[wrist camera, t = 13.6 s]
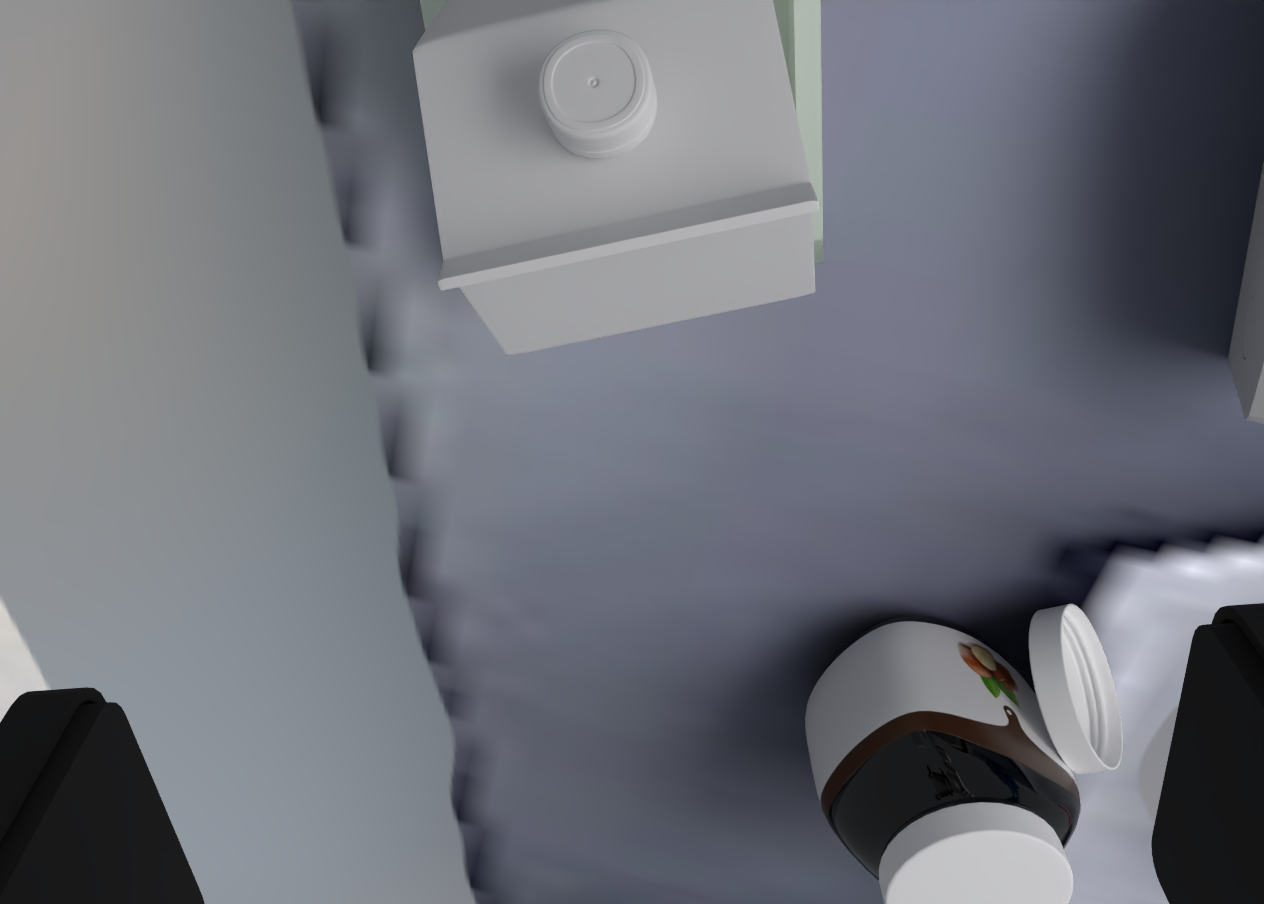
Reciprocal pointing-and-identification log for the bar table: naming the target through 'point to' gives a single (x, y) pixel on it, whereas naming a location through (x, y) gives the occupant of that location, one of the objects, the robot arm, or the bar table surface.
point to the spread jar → (962, 756)
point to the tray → (803, 61)
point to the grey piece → (1251, 322)
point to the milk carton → (613, 163)
